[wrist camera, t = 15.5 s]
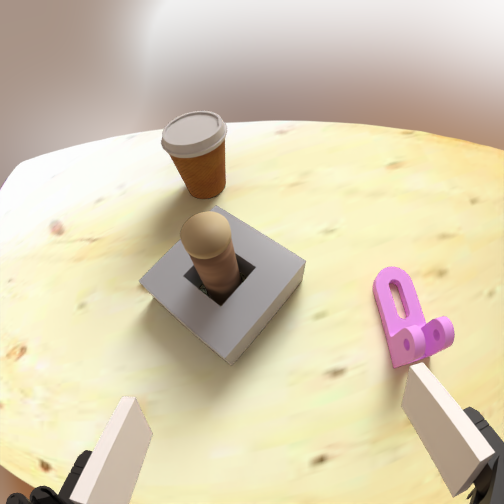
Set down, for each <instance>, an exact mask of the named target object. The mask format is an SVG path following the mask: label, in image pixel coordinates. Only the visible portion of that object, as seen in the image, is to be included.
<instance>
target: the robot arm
mask: <svg viewBox="0 0 504 504" xmlns="http://www.w3.org/2000/svg"><path fill="white" fill-rule="evenodd" d="M401 407H402V409H403V410H404V412H405V414H406V415H407V417H408V419H409V420H410V422H411V424H412V425H413V427H414V429H415V430H416V432H417V434H418V435H419V437H420V439H421V441H422V442H423V444H424V446H425V448H426V449H427V451H428V453H429V455H430V456H431V458H432V460H433V462H434V463H435V465H436V467H437V469H438V471H439V472H440V474H441V476H442V478H443V480H444V482H445V484H446V485H447V487H448V489H449V491H450V493H451V495H452V497H455V496H457V495H459V494H460V493H462V492H464V491H466V490H467V489H468V488H469V487H470V486H471V484H472V483H474V485H475V486H476V487H475V488H474V489H473V490H472V491H471V493H470V494H469V495H468V497H467V499H469V498H470V497H471V496H472V497H471V501H470V504H504V442H503V441H502V440H501V438H500V437H499V436H498V435H497V433H496V432H495V431H494V430H493V428H492V427H491V426H489V423H488V422H487V421H486V420H484V417H483V416H482V415H481V414H480V413H479V411H477V410H475V409H473V408H471V407H468V408H466V409H464V410H462V409H461V407H460V406H459V405H458V404H457V402H456V401H455V400H454V399H453V397H452V396H451V395H450V394H449V393H448V391H447V390H446V389H445V388H444V387H443V385H442V384H441V383H440V382H439V381H438V379H437V378H436V377H435V376H434V375H433V374H432V372H431V371H430V370H429V369H428V368H427V367H426V365H425V364H424V363H423V362H422V363H418V364H415V365H412V366H410V368H409V373H408V378H407V383H406V387H405V392H404V396H403V400H402V404H401ZM152 435H153V433H152V431H151V429H150V427H149V425H148V423H147V420H146V418H145V416H144V414H143V412H142V410H141V408H140V405H139V403H138V401H137V399H136V397H127V396H122V398H121V400H120V401H119V403H118V405H117V407H116V409H115V411H114V412H113V414H112V416H111V418H110V420H109V422H108V424H107V425H106V427H105V429H104V431H103V433H102V435H101V437H100V439H99V441H98V442H97V444H96V446H95V448H94V450H93V452H92V451H88V450H85V451H84V452H83V453H82V454H81V455H79V456H78V458H77V460H76V462H75V463H74V467H72V469H71V473H69V475H68V477H67V478H66V480H65V482H64V484H63V486H62V488H61V490H60V492H59V494H58V495H57V494H56V493H55V492H54V491H53V490H52V489H51V488H50V487H47V486H39V487H37V488H35V489H34V490H33V491H32V492H31V494H30V500H28V499H27V498H26V497H25V496H24V495H23V494H21V493H13V494H11V495H10V496H9V497H8V499H7V502H6V504H129V503H130V500H131V497H132V494H133V491H134V488H135V485H136V482H137V479H138V476H139V473H140V470H141V467H142V464H143V461H144V458H145V455H146V452H147V450H148V447H149V444H150V441H151V438H152Z"/></svg>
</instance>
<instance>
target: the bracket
mask: <svg viewBox="0 0 504 504" xmlns="http://www.w3.org/2000/svg"><path fill="white" fill-rule="evenodd" d="M390 283H393V284H395V285H396V286H397V288H398V291H399V294H400V297H401V300H402V303H403V306H404V309H405V313H406V319H402V318H400V317H399V316H398V314H397V310H396V307H395V304H394V300H393V297H392V294H391V291H390V288H389V284H390ZM373 292H374V296H375V299H376V302H377V306H378V309H379V313H380V316H381V320H382V324H383V327H384V331H385V335H386V339H387V343H388V347H389V351H390V355H391V359H392V363H393V368H397V367H400V366H403V365H406V364H409V363H412V362H415V361H418V360H421V359H424V358H426V357H429V356H432V355H434V354H436V353H438V352H440V351H442V350H444V349H446V348H448V347H450V346H451V345H452V343H453V341H454V328H453V325H452V322H451V321H450V319H449V318H447V317H445V316H442V317H439V318H436V319H433V320H431V321H430V322H429V323H427V324H426V322H425V318H424V315H423V312H422V309H421V306H420V303H419V300H418V297H417V294H416V291H415V288H414V285H413V282H412V280H411V278H410V276H409V275H408V274H407V273H406V272H405V271H404V270H402V269H400V268H397V267H387V268H384V269H383V270H381V271H380V272H379V274H378V275H377V277H376V278H375V280H374V283H373Z"/></svg>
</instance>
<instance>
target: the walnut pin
mask: <svg viewBox="0 0 504 504" xmlns="http://www.w3.org/2000/svg"><path fill="white" fill-rule="evenodd" d="M180 238H181V242H182V244H183V246H184V248H185V250H186V251H187V253H188V254H189V256H190V258H191V260H192V262H193V264H194V266H195V268H196V270H197V272H198V274H199V276H200V278H201V280H202V282H203V284H204V286H205V288H206V290H207V292H208V294H209V296H210V297H211V299H212V300H213V301H214V302H216V303H217V304H218V305H220V306H222V305H223V304H224V303H225V302H226V301H227V300H228V298H229V297H230V296H231V295H232V294H233V293H234V292H235V291H236V289H237V288H238V287H239V286H240V285H241V284H242V281H241V277H240V273H239V268H238V264H237V260H236V256H235V251H234V247H233V243H232V238H231V229H230V225H229V222H228V220H227V219H226V218H225V217H224V216H223V215H221V214H219V213H217V212H211V211H206V212H201V213H198V214H195V215H193V216H192V217H190V218H189V219H188V220H187V221H186V222H185V223H184V225H183V227H182V229H181V233H180Z"/></svg>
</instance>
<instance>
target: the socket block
mask: <svg viewBox="0 0 504 504" xmlns="http://www.w3.org/2000/svg"><path fill="white" fill-rule="evenodd" d="M210 211H211V212H217V213H219V214H221V215H223V216H224V217H225V218H226V219H227V220H228V222H229V225H230V229H231V238H232V243H233V247H234V251H235V256H236V260H237V264H238V268H239V272H240V273H241V274H243V275H244V276H245V277H247V278H246V279H245V280H244V282H243V283H242V284H241V285H240V286H239V287H238V288H237V289H236V291H235V292H234V293H233V294H232V295H231V296H230V297H229V298H228V300H227V301H226V302H225V303H224V304H223V305H222V306H219V305H218V304H217V303H216V302H214V301H213V300H212V299H211V298H209V297H208V296H207V295H206V294H204V293H203V292H202V291H201V290H199V289H198V288H199V287H200V286H201V285H202V284H203V282H202V280H201V278H200V276H199V274H198V272H197V270H196V268H195V266H194V264H193V262H192V260H191V258H190V256H189V254H188V253H187V251H186V250H185V248H184V246H183V244H182V242H181V239H180V240H179V241H178V242H177V243H176V244H175V245H174V246H173V247H172V248H171V249H170V250H169V251H168V252H167V253H166V254H165V255H164V256H163V257H162V258H161V259H160V260H159V261H158V262H157V263H156V264H155V265H154V266H153V267H152V268H151V269H150V270H149V271H148V272H147V273H146V274H145V275H144V276H143V277H142V278H141V279H140V280H139V282H140V283H141V284H142V285H143V286H144V288H145V289H146V290H147V291H148V292H149V293H150V294H151V295H152V296H153V297H154V298H155V299H156V300H157V301H158V302H159V303H160V304H161V305H162V306H163V307H164V308H165V309H166V310H167V311H169V312H170V313H171V314H172V315H173V316H174V317H175V318H176V319H177V320H178V321H179V322H181V323H182V324H183V325H184V326H185V327H186V328H187V329H188V330H189V331H191V332H192V333H193V334H194V335H195V336H196V337H197V338H199V339H200V340H201V341H202V342H203V343H204V344H206V345H207V346H208V347H209V348H210V349H212V350H213V351H214V352H215V353H216V354H218V355H219V356H220V357H221V358H222V359H224V360H225V361H226V362H227V363H229V364H230V365H231V366H232V365H233V364H234V363H235V362H236V360H237V359H238V358H239V357H240V356H241V355H242V353H243V352H244V351H245V350H246V349H247V348H248V346H249V345H250V344H251V343H252V342H253V340H254V339H255V338H256V337H257V336H258V334H259V333H260V332H261V331H262V330H263V328H264V327H265V326H266V325H267V324H268V322H269V321H270V320H271V319H272V317H273V316H274V315H275V314H276V313H277V311H278V310H279V309H280V308H281V306H282V305H283V304H284V303H285V301H286V300H287V299H288V298H289V296H290V295H291V294H292V293H293V291H294V290H295V289H296V287H297V286H298V285H299V284H300V282H301V281H302V279H303V274H304V268H305V263H306V261H305V260H304V259H302V258H301V257H299V256H297V255H296V254H294V253H293V252H291V251H289V250H288V249H286V248H285V247H283V246H282V245H280V244H278V243H277V242H275V241H273V240H272V239H270V238H269V237H267V236H265V235H264V234H262V233H261V232H259V231H257V230H256V229H254V228H253V227H251V226H249V225H248V224H246V223H244V222H243V221H241V220H239V219H238V218H236V217H235V216H233V215H231V214H230V213H228V212H226V211H225V210H223V209H221V208H220V207H218V206H215V207H214V208H212V209H211V210H210Z"/></svg>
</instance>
